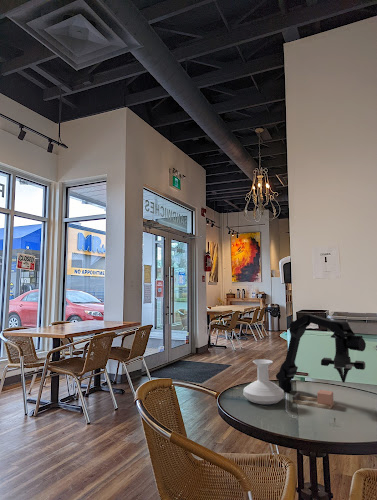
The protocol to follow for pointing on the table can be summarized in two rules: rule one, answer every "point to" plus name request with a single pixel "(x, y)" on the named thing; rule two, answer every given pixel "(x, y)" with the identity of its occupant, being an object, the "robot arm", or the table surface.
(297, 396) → the chute
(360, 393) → the table surface
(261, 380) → the white vase
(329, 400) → the block
